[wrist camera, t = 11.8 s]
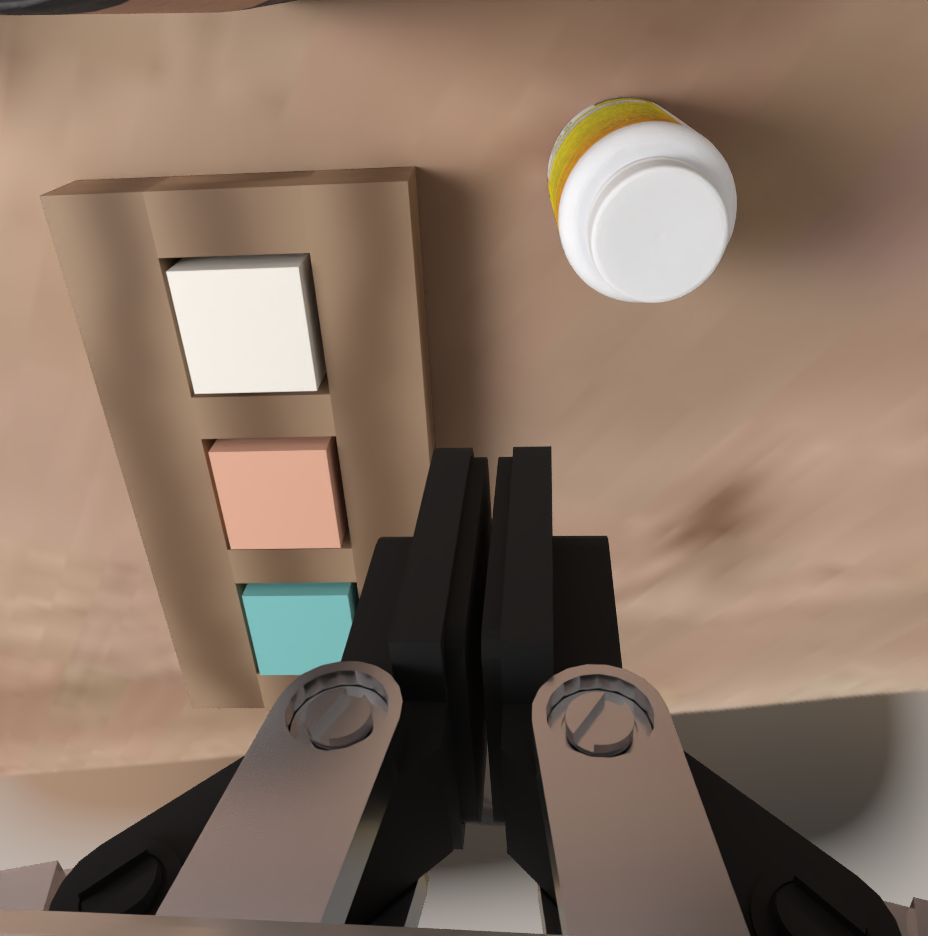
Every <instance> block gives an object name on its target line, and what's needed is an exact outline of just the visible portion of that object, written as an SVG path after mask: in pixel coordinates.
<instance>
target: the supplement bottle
mask: <svg viewBox="0 0 928 936" xmlns="http://www.w3.org/2000/svg"><path fill="white" fill-rule="evenodd" d="M548 190H549V196H550V200H551V204H552V208H553V212H554V217H555V220H556V224H557V228H558V233H559V237H560V241H561V244H562V247H563V250H564V253H565V255H566V257H567V259H568V261H569V263H570V264H571V266H572V267H573V269H574V270H575V272H576V273H577V274H578V275H579V277H580V278H581V279H582V280H583V281H584V282H586V283H587V284H588V285H589V286H590V287H592V288H593V289H595V290H596V291H598V292H600V293H602V294H604V295H606V296H608V297H611V298H614V299H617V300H621V301H627V302H649V303H658V302H666V301H671V300H673V299H676V298H679V297H682V296H684V295H686V294H688V293H690V292H691V291H693V290H694V289H696V288H697V287H698V286H700V285H701V284H702V283H703V282H704V281H705V280H706V279H707V278H708V277H709V276H710V275H711V274H712V273H713V271H714V270H715V269H716V267H717V265H718V264H719V262H720V260H721V258H722V256H723V253H724V251H725V249H726V247H727V245H728V243H729V241H730V238H731V236H732V233H733V229H734V225H735V220H736V212H737V194H736V188H735V183H734V179H733V176H732V173H731V171H730V169H729V166H728V164H727V162H726V161H725V159H724V158H723V156H722V155H721V153H720V152H719V151H718V150H717V148H716V147H715V146H714V145H713V144H712V143H711V142H710V141H709V140H708V139H706V138H705V137H704V136H702V135H701V134H699V133H698V132H696V131H695V130H693V129H692V128H691V127H689V126H688V125H687V124H685V123H684V122H682V121H681V120H680V119H678V118H677V117H675V116H674V115H672V114H671V113H670V112H668V111H667V110H665V109H664V108H662V107H660V106H659V105H657V104H655V103H653V102H651V101H648V100H645V99H641V98H637V97H614V98H609V99H605V100H602V101H599V102H596V103H594V104H592V105H590V106H589V107H587V108H585V109H584V110H582V111H581V112H580V113H578V114H577V115H576V116H575V117H574V118H573V119H572V120H571V121H570V122H569V123H568V124H567V125H566V127H565V128H564V129H563V131H562V132H561V134H560V135H559V137H558V139H557V140H556V142H555V145H554V147H553V150H552V153H551V156H550V160H549V165H548Z"/></svg>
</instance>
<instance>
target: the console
mask: <svg viewBox="0 0 928 936" xmlns="http://www.w3.org/2000/svg"><path fill="white" fill-rule="evenodd" d="M40 200H41V203H42V206H43V210H44V213H45V216H46V220H47V223H48V226H49V230H50V233H51V236H52V240H53V243H54V246H55V250H56V253H57V257H58V260H59V263H60V267H61V270H62V273H63V277H64V280H65V283H66V287H67V290H68V293H69V297H70V300H71V303H72V307H73V310H74V313H75V317H76V320H77V323H78V327H79V330H80V333H81V337H82V340H83V343H84V347H85V350H86V353H87V357H88V360H89V364H90V367H91V370H92V374H93V377H94V380H95V384H96V387H97V390H98V394H99V397H100V400H101V404H102V407H103V410H104V414H105V417H106V420H107V424H108V427H109V430H110V434H111V437H112V440H113V444H114V447H115V450H116V454H117V457H118V460H119V464H120V467H121V470H122V474H123V477H124V481H125V484H126V487H127V491H128V494H129V497H130V501H131V504H132V507H133V511H134V514H135V517H136V521H137V524H138V527H139V531H140V534H141V537H142V541H143V544H144V547H145V551H146V554H147V557H148V561H149V564H150V567H151V571H152V574H153V577H154V581H155V584H156V588H157V591H158V594H159V598H160V601H161V604H162V608H163V611H164V614H165V618H166V621H167V624H168V628H169V631H170V634H171V638H172V641H173V644H174V648H175V651H176V654H177V658H178V661H179V664H180V668H181V671H182V674H183V678H184V681H185V684H186V688H187V691H188V695H189V698H190V701H191V705H192V708H272V707H273V705H274V704H275V702H276V700H277V699H278V697H279V696H280V695H281V693H282V692H283V691H284V690H285V688H286V687H287V686H288V685H289V684H290V683H291V682H293V681H294V680H295V679H297V678H298V677H299V676H301V675H260V671H259V667H258V663H257V659H256V654H255V650H254V646H253V642H252V637H251V633H250V629H249V624H248V620H247V616H246V612H245V607H244V603H243V599H242V595H243V593H244V590H245V588H246V586H247V584H248V583H330V582H357V588H358V595H359V599H360V595H361V592H362V589H363V585H364V582H365V579H366V575H367V572H368V569H369V565H370V562H371V559H372V555H373V552H374V549H375V545H376V543H377V541H378V539H379V538H380V537H413V535H414V530H415V526H416V522H417V518H418V514H419V509H420V505H421V501H422V497H423V492H424V488H425V484H426V480H427V476H428V471H429V467H430V463H431V459H432V454H433V451H434V449H435V448H436V442H435V429H434V415H433V401H432V387H431V374H430V360H429V346H428V333H427V319H426V305H425V291H424V278H423V264H422V250H421V236H420V223H419V209H418V195H417V181H416V168H415V167H391V168H367V169H342V170H318V171H294V172H270V173H246V174H222V175H197V176H173V177H149V178H125V179H101V180H77V181H73V182H71V183H69V184H66V185H64V186H62V187H59V188H57V189H55V190H52V191H50V192H48V193H45V194H43V195H41V196H40ZM291 253H310V257H311V264H312V271H313V278H314V285H315V292H316V299H317V306H318V313H319V321H320V328H321V335H322V342H323V349H324V356H325V363H326V370H327V371H326V373H325V375H324V377H323V379H322V382H321V384H320V386H319V388H318V390H317V391H292V392H251V393H211V394H195V393H194V389H193V385H192V380H191V376H190V372H189V368H188V363H187V359H186V355H185V350H184V346H183V342H182V338H181V333H180V329H179V325H178V321H177V316H176V312H175V308H174V303H173V299H172V295H171V291H170V286H169V282H168V278H167V274H166V271H167V270H169V269H170V268H171V267H172V266H174V265H175V264H176V263H177V262H179V261H180V260H181V259H182V258H184V257H206V256H235V255H263V254H291ZM324 436H336V440H337V447H338V454H339V461H340V468H341V475H342V482H343V490H344V497H345V504H346V511H347V518H348V525H347V528H346V532H345V535H344V538H343V542H342V545H341V548H296V549H231V547H230V543H229V539H228V534H227V530H226V526H225V522H224V517H223V513H222V509H221V505H220V500H219V496H218V492H217V487H216V483H215V479H214V475H213V470H212V466H211V462H210V457H209V453H208V452H209V450H210V449H211V447H212V446H213V444H214V443H215V441H216V440H217V439H230V438H277V437H324Z"/></svg>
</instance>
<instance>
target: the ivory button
mask: <svg viewBox="0 0 928 936" xmlns="http://www.w3.org/2000/svg"><path fill="white" fill-rule="evenodd" d="M166 274H167V278H168V282H169V286H170V291H171V295H172V299H173V303H174V308H175V312H176V316H177V321H178V325H179V329H180V333H181V338H182V342H183V346H184V350H185V355H186V359H187V363H188V368H189V372H190V376H191V380H192V385H193V389H194V393H195V394H211V393H251V392H292V391H317V390H318V388H319V386H320V384H321V382H322V379H323V377H324V375H325V373H326V371H327V370H326V363H325V356H324V349H323V342H322V335H321V328H320V321H319V313H318V306H317V299H316V292H315V285H314V278H313V271H312V264H311V257H310V253H291V254H263V255H235V256H206V257H184V258H182V259H181V260H180V261H179V262H177V263H176V264H175V265H174V266H172V267H171V268H170V269H169V270H167V271H166Z"/></svg>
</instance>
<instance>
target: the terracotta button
mask: <svg viewBox="0 0 928 936" xmlns="http://www.w3.org/2000/svg"><path fill="white" fill-rule="evenodd" d="M208 453H209V457H210V462H211V466H212V470H213V475H214V479H215V483H216V487H217V492H218V496H219V500H220V505H221V509H222V513H223V517H224V522H225V526H226V530H227V534H228V539H229V543H230V547H231V549H296V548H341V545H342V542H343V538H344V535H345V532H346V528H347V525H348V518H347V511H346V504H345V497H344V490H343V482H342V475H341V468H340V461H339V454H338V447H337V440H336V436H324V437H277V438H230V439H217V440H216V441H215V443H214V444H213V446H212V447H211V449H210V450H209V452H208Z"/></svg>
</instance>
